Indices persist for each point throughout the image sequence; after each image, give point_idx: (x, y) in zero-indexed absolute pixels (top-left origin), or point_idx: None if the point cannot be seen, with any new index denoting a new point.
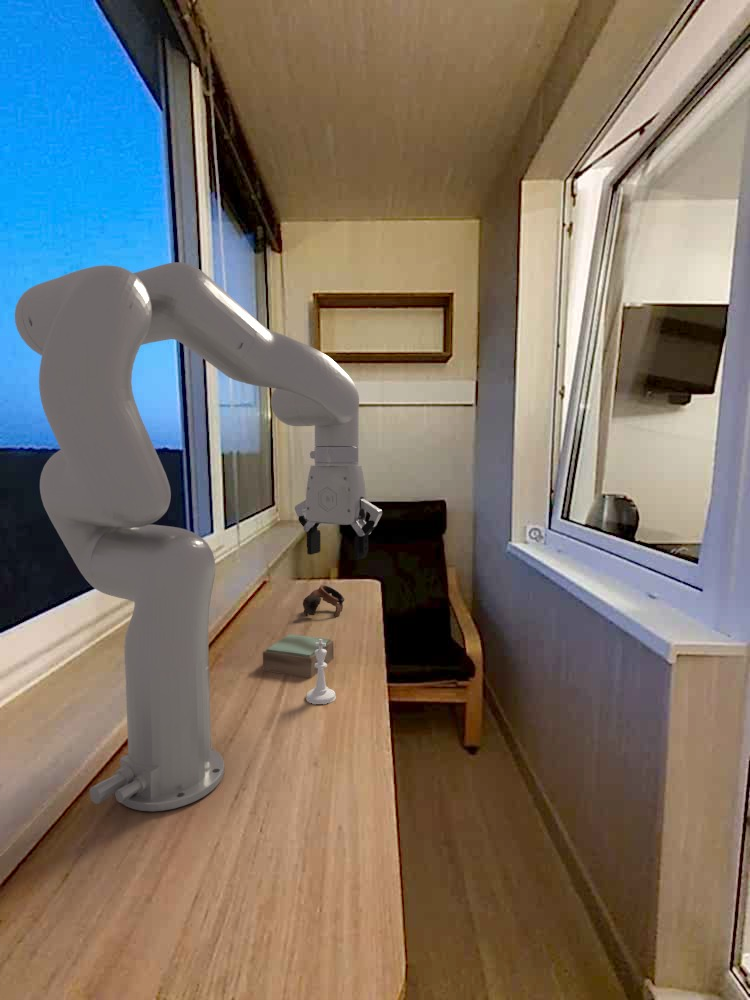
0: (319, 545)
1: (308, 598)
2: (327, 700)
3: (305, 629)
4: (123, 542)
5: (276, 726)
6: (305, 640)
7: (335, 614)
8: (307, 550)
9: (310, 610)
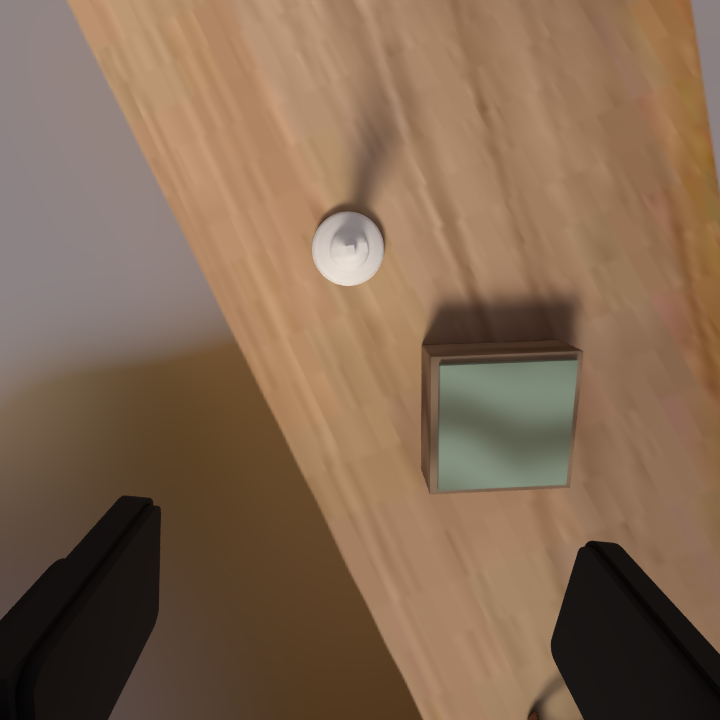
0: (578, 688)
1: None
2: (319, 227)
3: None
4: None
5: (377, 69)
6: (500, 458)
7: (534, 716)
8: (631, 559)
9: None
